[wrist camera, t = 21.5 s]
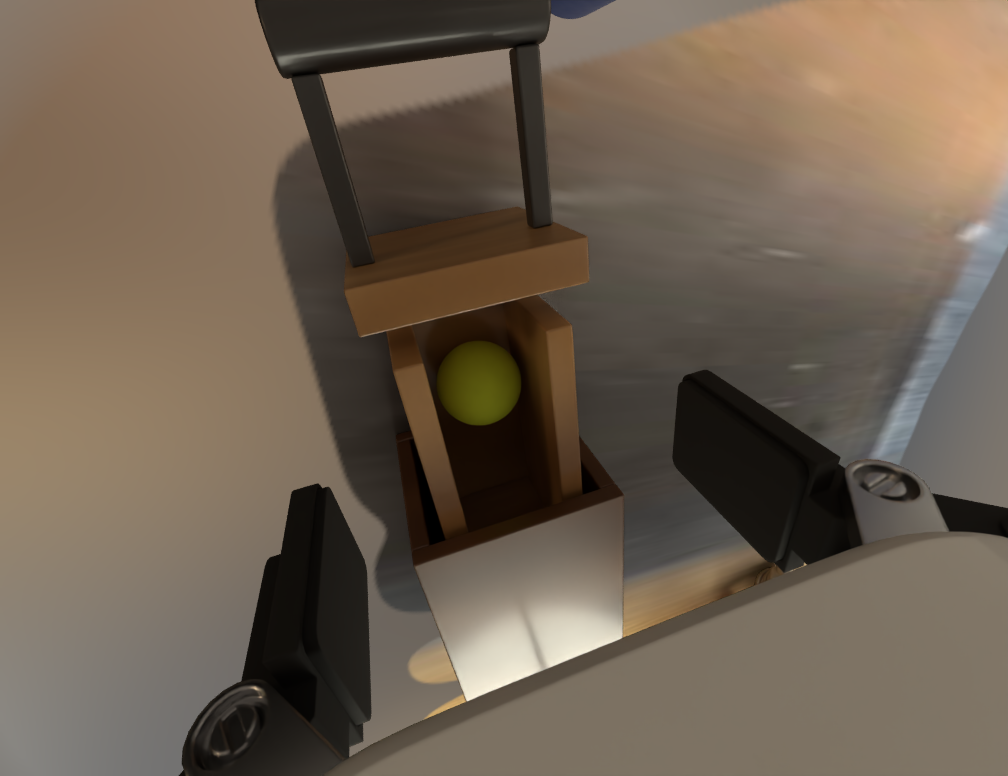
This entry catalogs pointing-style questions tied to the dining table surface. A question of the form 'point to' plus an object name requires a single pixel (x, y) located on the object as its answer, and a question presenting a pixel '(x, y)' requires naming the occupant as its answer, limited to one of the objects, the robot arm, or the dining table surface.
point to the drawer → (454, 254)
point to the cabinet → (520, 578)
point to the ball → (478, 383)
